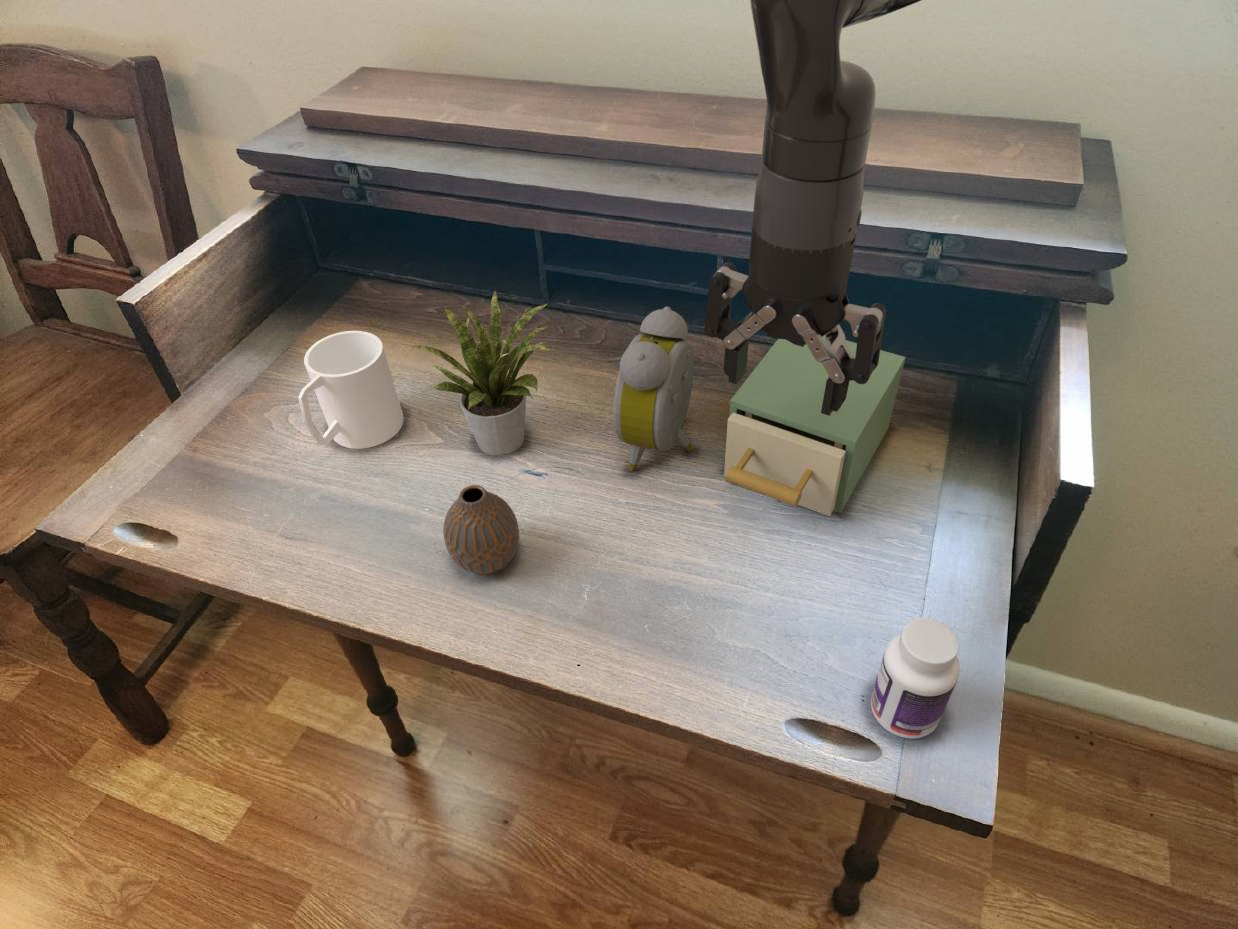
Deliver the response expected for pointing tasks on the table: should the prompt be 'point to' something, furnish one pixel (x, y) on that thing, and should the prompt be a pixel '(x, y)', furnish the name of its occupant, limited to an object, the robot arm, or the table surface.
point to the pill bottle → (916, 678)
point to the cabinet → (795, 398)
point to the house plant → (492, 380)
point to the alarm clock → (654, 386)
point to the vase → (481, 531)
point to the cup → (351, 390)
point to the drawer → (783, 462)
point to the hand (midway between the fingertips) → (782, 393)
